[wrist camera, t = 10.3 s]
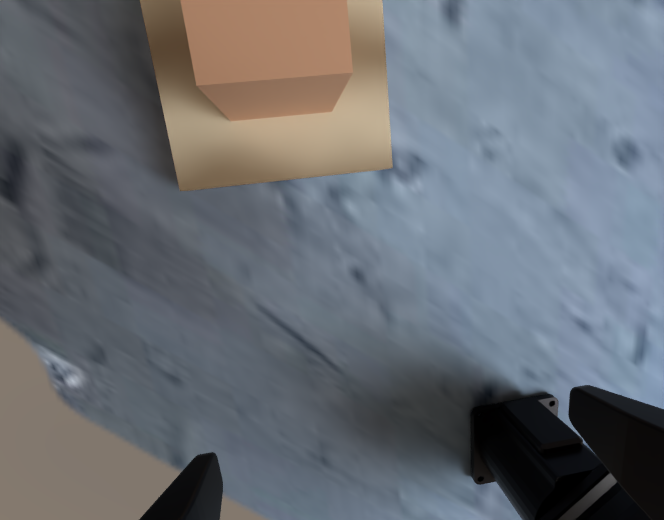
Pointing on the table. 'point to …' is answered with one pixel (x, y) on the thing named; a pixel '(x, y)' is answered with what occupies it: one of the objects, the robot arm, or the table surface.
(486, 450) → the robot arm
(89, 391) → the table surface
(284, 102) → the block
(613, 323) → the table surface
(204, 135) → the base slab
